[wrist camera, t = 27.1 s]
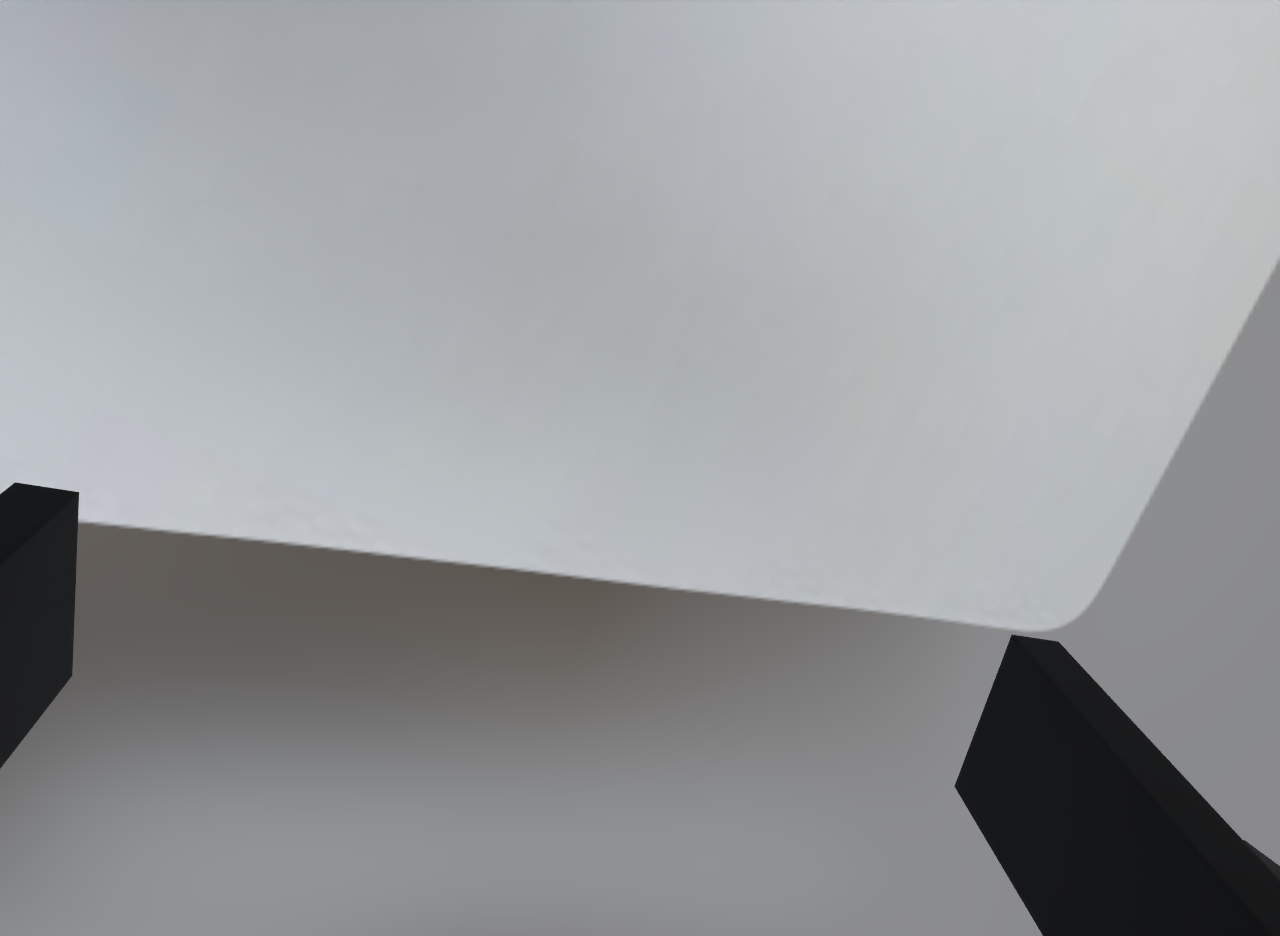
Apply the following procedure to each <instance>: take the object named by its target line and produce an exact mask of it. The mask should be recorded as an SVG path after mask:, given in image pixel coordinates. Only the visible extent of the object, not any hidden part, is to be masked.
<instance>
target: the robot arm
mask: <svg viewBox="0 0 1280 936" xmlns="http://www.w3.org/2000/svg"><path fill="white" fill-rule="evenodd" d="M78 505H79V492H74V491H67V490H61V489H54V488H48V487H41V486H34V485H28V484H21V483H14V484H13V485H11V486H10V487H9V488H8V489H6V490H5V491H4V492H3V493H1V494H0V768H1V767H2V766H3V764H4V763H5V761H7V759H8V758H9V757H10V755H11V754H12V753H13V752H14V750H15V749H16V748H17V746H18V745H19V744H20V742H21V741H22V740H23V738H24V737H25V736H26V735H27V733H28V732H29V731H30V730H31V728H32V727H33V725H34V724H35V723H36V722H37V720H38V719H39V718H40V716H41V715H42V714H43V712H44V711H45V710H46V709H47V707H48V706H49V705H50V704H51V702H52V701H53V700H54V698H55V697H56V696H57V695H58V693H59V692H60V690H61V689H62V688H63V687H64V686H65V684H66V683H67V682H68V680H69V679H70V678H71V676H72V663H73V637H74V611H75V584H76V556H77V555H76V554H77V531H78ZM955 788H956V789H957V791H958V793H959V795H960V796H961V798H962V800H963V801H964V803H965V805H966V807H967V808H968V810H969V812H970V813H971V815H972V817H973V818H974V820H975V822H976V823H977V825H978V827H979V828H980V830H981V832H982V834H983V835H984V837H985V839H986V840H987V842H988V844H989V845H990V847H991V849H992V850H993V852H994V854H995V855H996V857H997V859H998V861H999V862H1000V864H1001V865H1002V867H1003V869H1004V871H1005V872H1006V874H1007V876H1008V877H1009V879H1010V881H1011V882H1012V884H1013V886H1014V887H1015V889H1016V891H1017V893H1018V894H1019V896H1020V898H1021V899H1022V901H1023V902H1024V904H1025V906H1026V908H1027V909H1028V911H1029V913H1030V914H1031V916H1032V918H1033V920H1034V921H1035V923H1036V925H1037V926H1038V928H1039V930H1040V931H1041V933H1042V935H1043V936H1280V866H1279V865H1277V864H1276V863H1274V862H1273V861H1272V860H1271V859H1269V858H1268V857H1266V856H1265V855H1264V854H1262V853H1261V852H1260V851H1258V850H1257V849H1256V848H1254V847H1253V846H1252V845H1250V844H1249V843H1248V842H1246V841H1245V840H1242V839H1241V838H1240V837H1239V836H1238V835H1237V834H1236V832H1235V831H1234V830H1233V829H1232V828H1231V827H1230V826H1229V825H1228V824H1227V823H1226V822H1225V821H1224V820H1223V818H1222V817H1220V815H1219V814H1218V813H1217V812H1216V811H1215V810H1214V809H1213V808H1212V807H1211V806H1210V804H1209V803H1208V802H1207V801H1206V800H1205V799H1204V798H1203V797H1202V796H1201V795H1200V794H1199V793H1198V792H1197V790H1196V789H1195V788H1194V787H1193V786H1192V785H1191V784H1190V783H1189V782H1188V781H1187V780H1186V779H1185V778H1184V776H1183V775H1182V774H1181V773H1180V772H1179V771H1178V770H1177V769H1176V768H1175V767H1174V766H1173V765H1172V764H1171V762H1170V761H1169V760H1168V759H1167V758H1166V757H1165V756H1164V755H1163V754H1162V753H1161V752H1160V751H1159V750H1158V748H1157V747H1156V746H1155V745H1154V744H1153V743H1152V742H1151V741H1150V740H1149V739H1148V738H1147V737H1146V736H1145V734H1144V733H1143V732H1142V731H1141V730H1140V729H1139V728H1138V727H1137V726H1136V725H1135V724H1134V723H1133V722H1132V721H1131V719H1130V718H1129V717H1128V716H1127V715H1126V714H1125V713H1124V712H1123V711H1122V710H1121V709H1120V708H1119V707H1118V706H1117V704H1116V703H1115V702H1114V701H1113V700H1112V699H1111V698H1110V697H1109V696H1108V695H1107V694H1106V692H1105V691H1104V690H1103V689H1102V688H1101V687H1100V686H1099V685H1098V684H1097V683H1096V682H1095V681H1094V680H1093V679H1092V677H1091V676H1090V675H1089V674H1088V673H1087V672H1086V671H1085V670H1084V669H1083V668H1082V667H1081V666H1080V664H1079V663H1078V662H1077V661H1076V660H1075V659H1074V658H1073V657H1072V656H1071V655H1070V654H1069V653H1068V652H1067V650H1066V649H1065V648H1064V647H1063V646H1062V645H1061V644H1060V643H1059V642H1056V641H1050V640H1044V639H1036V638H1030V637H1024V636H1017V635H1012V636H1011V638H1010V641H1009V644H1008V646H1007V649H1006V652H1005V654H1004V657H1003V660H1002V662H1001V665H1000V668H999V670H998V673H997V675H996V678H995V681H994V683H993V686H992V689H991V691H990V694H989V697H988V699H987V702H986V704H985V707H984V710H983V712H982V715H981V718H980V720H979V723H978V726H977V728H976V731H975V734H974V736H973V739H972V742H971V744H970V747H969V750H968V752H967V755H966V757H965V760H964V763H963V765H962V768H961V771H960V774H959V776H958V779H957V781H956V784H955Z"/></svg>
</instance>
